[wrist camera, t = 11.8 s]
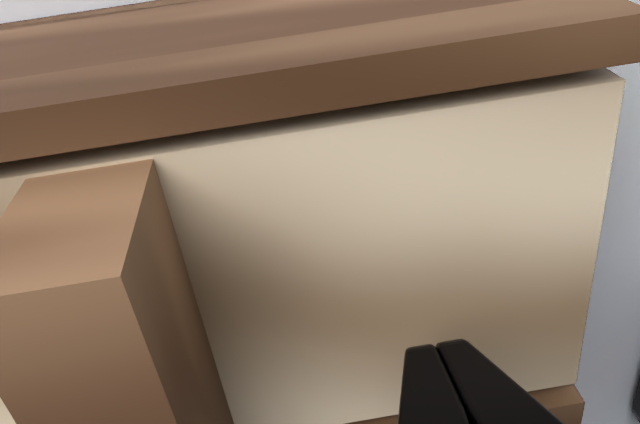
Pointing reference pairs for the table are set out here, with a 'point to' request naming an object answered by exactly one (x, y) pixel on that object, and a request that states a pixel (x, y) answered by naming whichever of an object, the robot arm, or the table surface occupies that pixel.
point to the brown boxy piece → (283, 69)
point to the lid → (304, 257)
